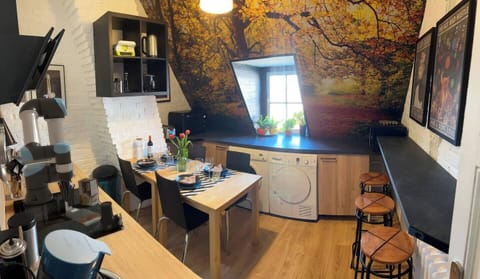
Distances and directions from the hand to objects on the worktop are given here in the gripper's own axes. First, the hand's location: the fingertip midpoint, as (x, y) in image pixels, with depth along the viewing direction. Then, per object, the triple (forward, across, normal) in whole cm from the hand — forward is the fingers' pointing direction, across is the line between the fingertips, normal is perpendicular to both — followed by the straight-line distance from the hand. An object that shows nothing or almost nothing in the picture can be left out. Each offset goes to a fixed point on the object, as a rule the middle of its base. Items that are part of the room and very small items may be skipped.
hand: (69, 211), depth 167 cm
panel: (+3, +8, +3) cm, 9 cm away
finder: (+2, +4, 0) cm, 4 cm away
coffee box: (+3, -5, +16) cm, 17 cm away
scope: (+3, +33, +2) cm, 33 cm away
